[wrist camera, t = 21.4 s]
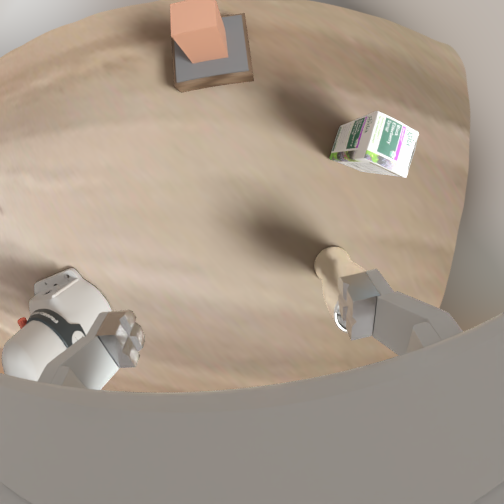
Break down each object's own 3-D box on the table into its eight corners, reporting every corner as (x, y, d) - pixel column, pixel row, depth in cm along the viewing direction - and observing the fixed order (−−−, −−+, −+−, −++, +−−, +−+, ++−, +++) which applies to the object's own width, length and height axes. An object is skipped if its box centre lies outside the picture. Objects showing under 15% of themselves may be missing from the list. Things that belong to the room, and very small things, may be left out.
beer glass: (306, 251, 43) (325, 295, 29) (347, 237, 42) (384, 273, 28) (317, 289, 45) (338, 343, 31) (356, 276, 44) (391, 323, 30)
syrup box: (338, 124, 37) (375, 107, 23) (373, 139, 37) (421, 131, 23) (328, 159, 38) (361, 157, 25) (363, 173, 39) (408, 179, 25)
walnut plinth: (181, 92, 36) (173, 86, 32) (177, 35, 33) (170, 25, 29) (253, 81, 35) (252, 72, 31) (246, 23, 32) (244, 12, 28)
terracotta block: (192, 63, 31) (170, 35, 21) (190, 36, 29) (170, 4, 20) (228, 57, 31) (216, 25, 21) (225, 29, 29) (213, -6, 20)
